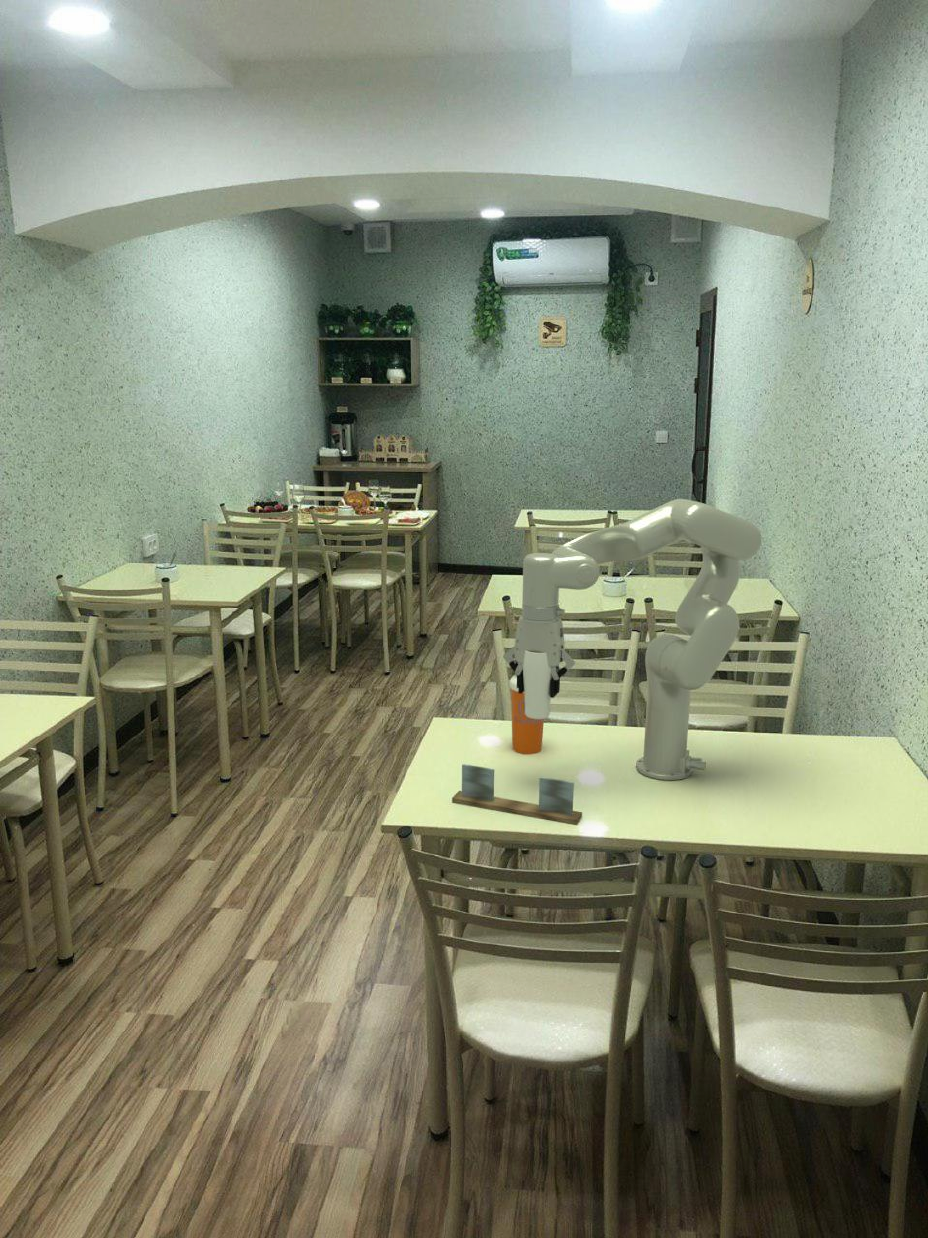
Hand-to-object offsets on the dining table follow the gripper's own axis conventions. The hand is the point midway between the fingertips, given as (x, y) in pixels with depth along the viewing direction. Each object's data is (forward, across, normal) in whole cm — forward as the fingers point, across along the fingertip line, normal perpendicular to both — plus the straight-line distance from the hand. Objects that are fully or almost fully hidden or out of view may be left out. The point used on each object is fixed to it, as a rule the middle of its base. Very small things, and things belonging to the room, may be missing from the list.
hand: (537, 693), depth 201 cm
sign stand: (+21, 0, +13) cm, 25 cm away
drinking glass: (+5, 0, 0) cm, 5 cm away
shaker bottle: (+22, +8, -20) cm, 31 cm away
